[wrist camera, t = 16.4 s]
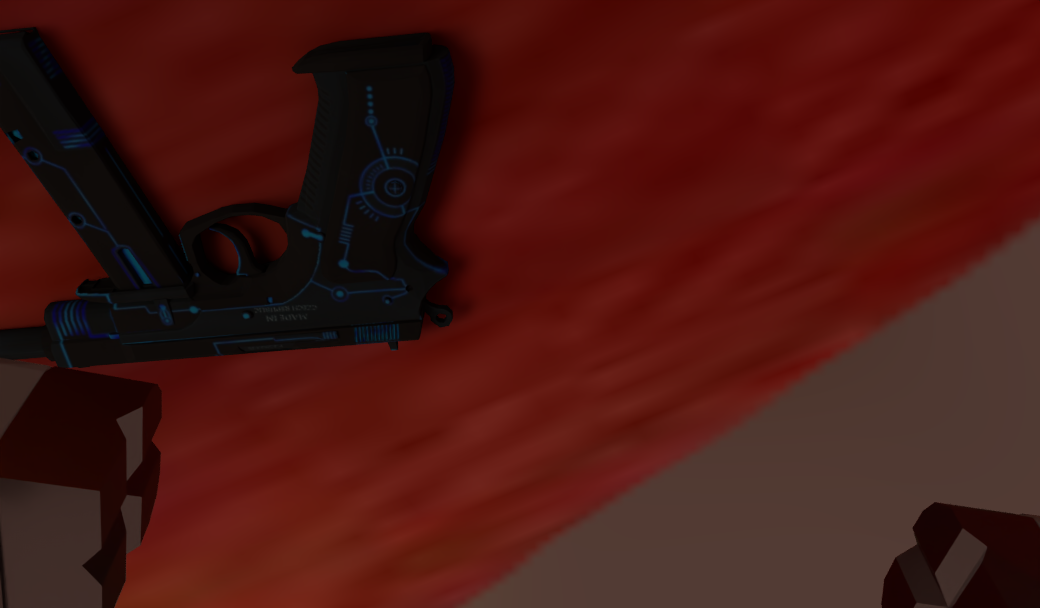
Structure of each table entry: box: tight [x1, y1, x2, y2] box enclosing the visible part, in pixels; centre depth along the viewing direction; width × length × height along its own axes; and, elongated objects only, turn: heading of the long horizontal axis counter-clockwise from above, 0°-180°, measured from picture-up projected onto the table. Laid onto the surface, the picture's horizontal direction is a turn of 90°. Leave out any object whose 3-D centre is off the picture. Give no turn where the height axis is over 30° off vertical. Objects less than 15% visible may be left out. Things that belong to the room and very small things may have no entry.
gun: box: [0, 27, 455, 368], centre depth 40 cm, size 24×3×15 cm
